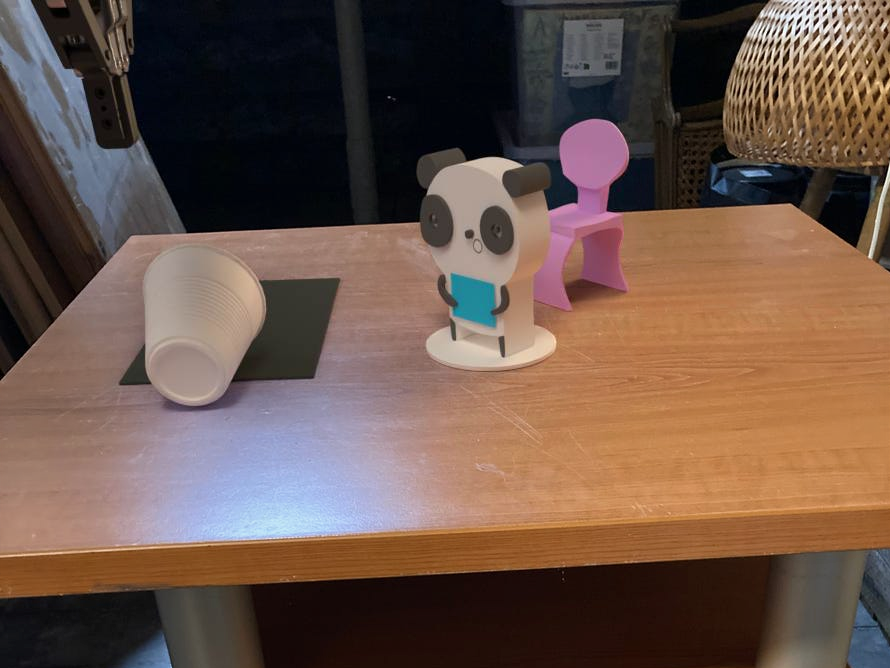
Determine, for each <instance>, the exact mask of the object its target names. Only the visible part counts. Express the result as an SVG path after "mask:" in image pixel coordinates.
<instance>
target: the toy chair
mask: <svg viewBox="0 0 890 668" xmlns="http://www.w3.org/2000/svg"><path fill="white" fill-rule="evenodd" d="M558 150H559V159H560V164H561V168H562V174H563V175H564V176H565V177H566V178H567V179H568V180H569V181H570V182H571V183H573V184H574V185H575V186H576V187H577V203H575V202H572V203H568V204H565V205H562V206H559V207H556V208H554V209H550V210H548V213H549V220H550V245H549V250H548V254H547V257H546V259H545V261H544V263H543V265H542V267H541V268H540V269H539V271H538V272H536V273H535V274H534V301H536V302H540V303H543V304H546V305H548V306H551V307H555V308H558V309H561V310H564V311H567V312H572V311H573V307H572V306H571V303H570V301H569V297H568V295H567V293H566V289H565V285H564V277H563V276H564V268H565V265H566V262H567V260H568V257H569V256H570V254H571V252H572V249H573V247H574V245H575V243H576V242H578V240H581V245H582V250H583V253H582V254H583V256H582V257H583V258H582V265H581V271H580V279H582V280H585V281H589V282H592V283H596V284H598V285H603V286H605V287H608V288H612V289H615V290H619V291H622V292H629V291H630V289H629V286H628V283H627V281H626V278H625V275H624V272H623V268H622V264H621V249H622V248H621V247H622V243H623V239H624V236H625V235H624V234H625V228H624V225H623V218H624V217H623V214H621V213H617V212H612V211H607V207H608V200H609V193H610V186H611V185H612V184H613V183H614V181H615V180H617V179H619V178H620V177H621V176H622V175H623V174H624V172H625V171H626V170H627V167H628V166H629V161H630V151H629V147H628V144H627V141H626V139H625V136H624V135H623V134H622V132H621V131H620V129H619V128H618V127H617V125H616V124H614V123H613V122H612V121H609V120H606V119H601V118H592V119H586V120H582V121H580V122H578V123H575V124H574V125H572V126H571V127H569V128H567V129H566V131H564V132H563V134H562V136H561V138H560V140H559V149H558Z"/></svg>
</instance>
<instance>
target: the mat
mask: <svg viewBox="0 0 890 668" xmlns="http://www.w3.org/2000/svg"><path fill="white" fill-rule="evenodd" d="M340 280H341V277H327V278H326V277H323V278H321V277H319V278H296V279H295V278H294V279H293V278H291V279H288V278H287V279H263V280H262V279H261V280H259V279H258V281H259V283H260V285H261V287H262V289H263V293H264V296H265V301H266V314H265V321H264V323H263V326H262V328H261V330H260V332H259V333H258V335H257V336H256V338H255V339H254V340H252V342H251V344H250V346H249V348H248V349H247V351H246V353H245V355H244V357H243V359H242V361H241V363H240V364H239V366H238V368H237V370H236V372H235V374H234V376H233V378H232V380H231V382H237V381H238V382H239V381H241V382H242V381H266V380H267V381H269V380H295V379H296V380H298V379H314V378H315V375H316V371H317V367H318V364H319V361H320V356H321V352H322V349H323V345H324V341H325V337H326V333H327V329H328V326H329V322H330V318H331V314H332V311H333V307H334V304H335V299H336V295H337V293H338V292H337V291H338V288H339V286H340V285H339V284H340ZM150 384H151V385H152V383H151V382H150V380H149V378H148V375H147V372H146V367H145V343H144V344H143V345H142V346H141V348H140V350H139V351H138V353H137V354H136V355H135V357H134V359H133V360H132V362H131V364H130V365H129V366H128V368H127V369H126V371H125V373H124V374H123V375H122V377H121V378H120V380H119V382H118V385H120V386H123V385H124V386H125V385H150Z"/></svg>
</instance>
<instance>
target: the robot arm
mask: <svg viewBox="0 0 890 668" xmlns="http://www.w3.org/2000/svg"><path fill="white" fill-rule="evenodd" d="M30 2H31V5H32V6H33V9H34V11H35V13H36V15H37V17H38V19H39V21H40V23H41V25H42V27H43V29H44V31H45V33H46V36H47V37H48V39H49V41H50V43H51V45H52V47H53V49H54V51H55V53H56V56H57V57H58V59H59V61H60V64H61V66H62V67H63V69H64V70H72V71H73V73H74V75H75V77H76V78H81V83H82V87H83V91H84V92H83V93H84V97H85V101H86V104H87V109H88V112H89V117H90V121H91V127H92V129H93V134H94V138H95V142H96V144H97V146H98V147H100V148H101V149H102V150H125V149H130V148H132V147H133V146H134V145H135V144H136V143H138V141H139V140H140V132H139V128H138V124H137V118H136V114H135V110H134V104H133V100H132V95H131V90H130V86H129V81H128V76H127V72H129V71H130V70H129V69H130V57H129V56H132V55H134V49H135V43H134V30H133V29H134V28H133V6H132V5H133V1H132V0H30Z"/></svg>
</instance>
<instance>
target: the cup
mask: <svg viewBox="0 0 890 668" xmlns="http://www.w3.org/2000/svg"><path fill="white" fill-rule="evenodd" d="M258 280H259V279H258V277H257V276H256V274H255V273H254V272H253V271H252V269H251V268H250V267H249V266H248V265H247V264H246V263H245V262H244V261H242V259H241V258H239V257H238V256H236V255H234V254H233V253H231V252H230V251H228V250H225V249H223V248H221V247H218V246H215V245H211V244H207V243H200V242H199V243H196V242H187V243H181V244H178V245H175V246H172V247H169V248H167V249H165V250H164V251H163V252H161V253H159V254H158V255H157V256H155V258H154V259H153V260H152V261H151V262H150V264H149V266H148V267H147V268H146V271H145V273H144V277H143V281H142V289H141V290H142V291H141V292H142V293H141V294H142V299H143V305H144V321H145V322H144V333H145V334H144V335H145V336H144V339H145V340H144V344H145V367H146V372H147V375H148V378H149V380H150V382H151V383H152V384H151V385H152V386H153V388H154V389H155V390H156V391H157V392H158V393H159V394H161V395H162V396H164V398H166V399H168V400H170V401H171V402H174V403H177V404H180V405H182V406H183V405H184V406H189V407H198V406H199V407H200V406H201V407H202V406H206V405H209V404H212V403H214V402H216V401H217V400H219V399H220V398H221V397H222V396H223V395H224V394H225V393H226V391H227V389H228V388H229V386H230V384H231V382H232V381H231V380H232V378H233V376H234V374H235V372H236V370H237V368H238V366H239V364H240V363H241V361H242V359H243V357H244V355H245V353H246V351H247V349H248V348H249V346H250V344H251V342H252V340H254V339H255V338H256V336H257V335H258V333H259V332H260V330H261V328H262V326H263V323H264V321H265V314H266V301H265V296H264V293H263V289H262V287H261V285H260V283H259V281H258Z"/></svg>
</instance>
